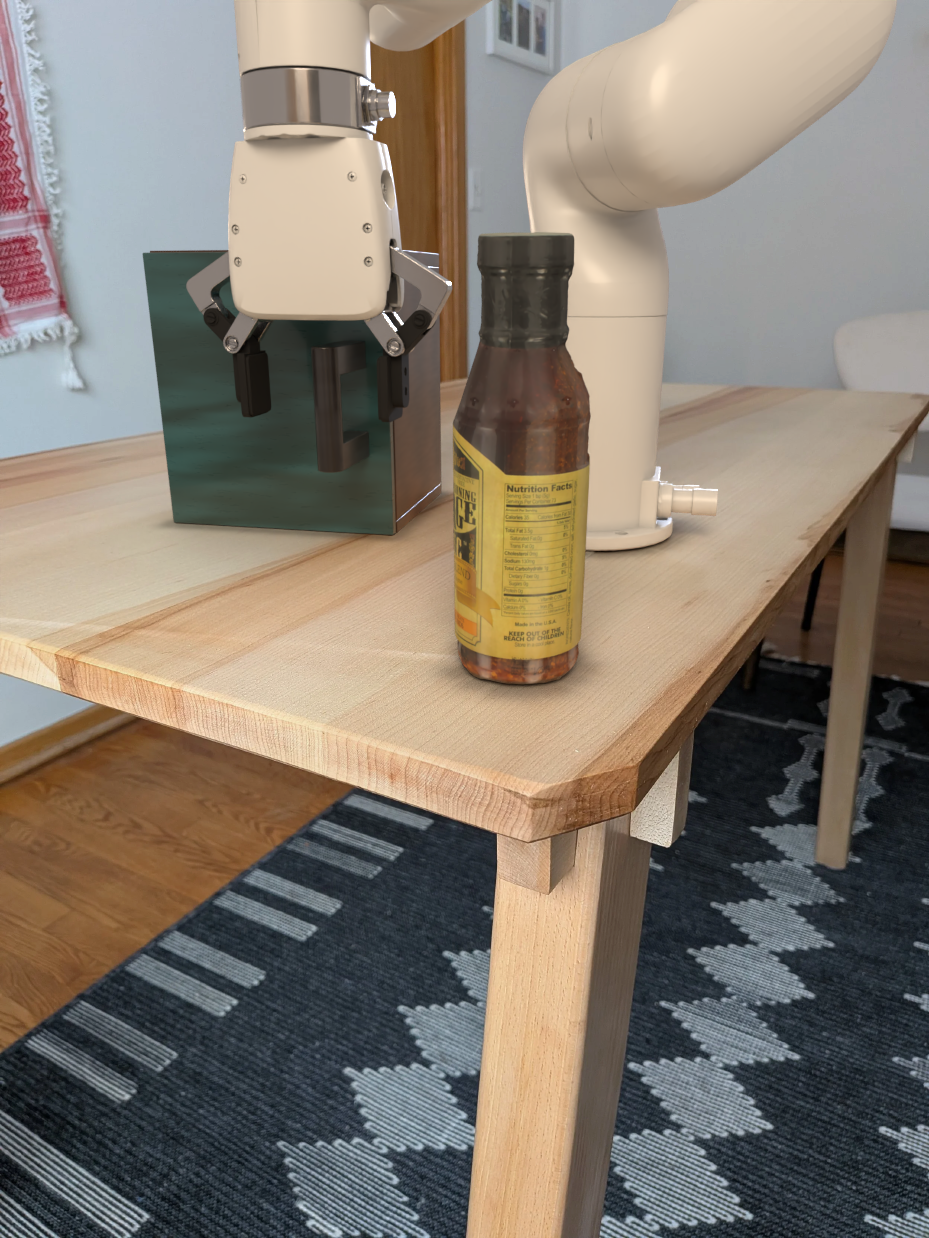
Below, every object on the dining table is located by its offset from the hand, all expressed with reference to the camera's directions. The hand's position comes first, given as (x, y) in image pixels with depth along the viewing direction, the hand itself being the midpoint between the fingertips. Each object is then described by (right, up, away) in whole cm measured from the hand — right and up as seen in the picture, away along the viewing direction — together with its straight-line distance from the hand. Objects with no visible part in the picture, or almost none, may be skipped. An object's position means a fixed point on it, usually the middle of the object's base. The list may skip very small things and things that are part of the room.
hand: (323, 416), depth 59 cm
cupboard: (-3, -4, +18) cm, 18 cm away
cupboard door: (-6, -7, +8) cm, 12 cm away
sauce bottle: (+12, -16, -14) cm, 24 cm away
